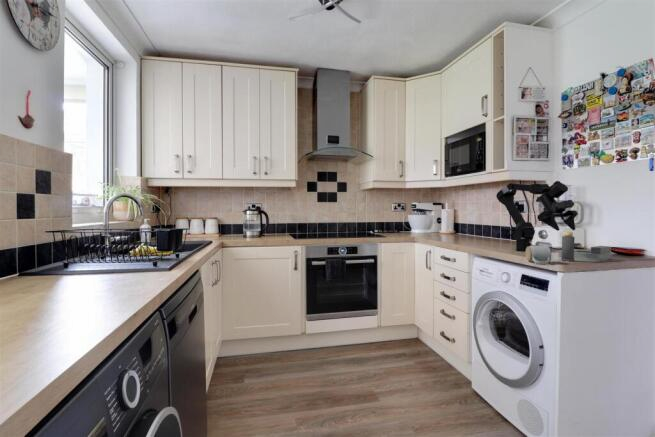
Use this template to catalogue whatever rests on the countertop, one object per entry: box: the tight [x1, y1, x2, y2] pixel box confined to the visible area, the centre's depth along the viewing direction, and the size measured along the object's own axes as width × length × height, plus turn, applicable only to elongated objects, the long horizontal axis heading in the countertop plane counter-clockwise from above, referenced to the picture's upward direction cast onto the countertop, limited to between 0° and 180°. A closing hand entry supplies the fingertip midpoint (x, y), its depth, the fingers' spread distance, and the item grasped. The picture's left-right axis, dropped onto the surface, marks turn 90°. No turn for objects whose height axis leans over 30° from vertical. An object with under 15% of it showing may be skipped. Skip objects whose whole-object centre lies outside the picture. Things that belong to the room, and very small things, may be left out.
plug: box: [560, 231, 575, 263], centre depth 141 cm, size 5×5×13 cm
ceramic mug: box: [525, 244, 552, 266], centre depth 136 cm, size 11×8×8 cm
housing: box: [558, 245, 612, 262], centre depth 149 cm, size 16×12×6 cm
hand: (566, 230), depth 149 cm, fingers open, 9 cm apart
